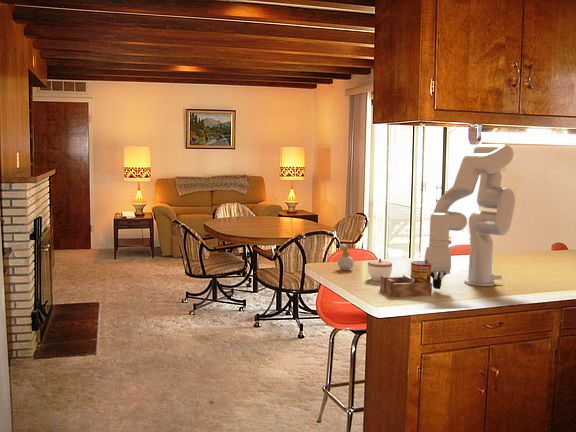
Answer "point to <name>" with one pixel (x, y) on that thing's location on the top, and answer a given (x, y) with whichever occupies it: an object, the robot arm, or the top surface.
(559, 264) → the top surface
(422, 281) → the canned food
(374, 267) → the lidded jar
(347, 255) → the perfume bottle
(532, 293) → the top surface
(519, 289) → the top surface
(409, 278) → the pusher
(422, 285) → the brown wooden frame
